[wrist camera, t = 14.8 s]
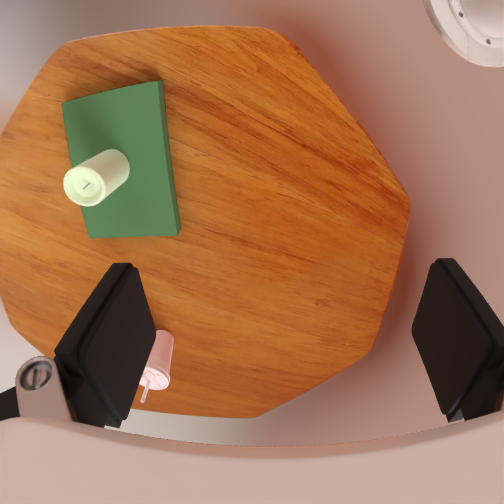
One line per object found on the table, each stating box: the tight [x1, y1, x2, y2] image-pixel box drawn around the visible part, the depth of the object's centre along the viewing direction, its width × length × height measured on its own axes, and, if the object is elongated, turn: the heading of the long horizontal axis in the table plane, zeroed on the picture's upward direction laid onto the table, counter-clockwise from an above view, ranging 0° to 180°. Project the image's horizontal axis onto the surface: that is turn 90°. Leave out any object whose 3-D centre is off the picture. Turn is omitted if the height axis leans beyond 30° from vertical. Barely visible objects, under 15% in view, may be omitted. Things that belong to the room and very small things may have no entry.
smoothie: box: [139, 330, 174, 403], centre depth 48 cm, size 6×6×14 cm
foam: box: [62, 81, 181, 238], centre depth 37 cm, size 20×14×2 cm
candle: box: [63, 149, 130, 206], centre depth 33 cm, size 5×5×8 cm
